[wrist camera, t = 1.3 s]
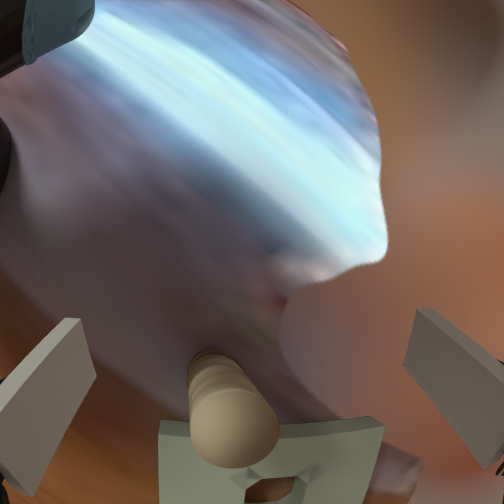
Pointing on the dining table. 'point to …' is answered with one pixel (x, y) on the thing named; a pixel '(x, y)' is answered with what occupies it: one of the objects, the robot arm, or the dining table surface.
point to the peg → (228, 413)
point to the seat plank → (275, 464)
